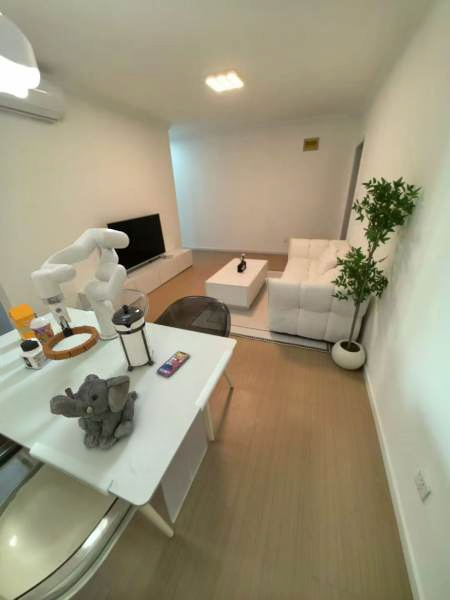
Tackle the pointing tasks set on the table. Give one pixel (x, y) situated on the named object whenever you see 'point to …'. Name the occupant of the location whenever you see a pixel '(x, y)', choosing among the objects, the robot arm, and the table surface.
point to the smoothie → (41, 329)
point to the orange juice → (23, 320)
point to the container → (33, 354)
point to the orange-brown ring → (73, 351)
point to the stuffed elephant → (100, 409)
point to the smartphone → (173, 363)
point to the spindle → (70, 393)
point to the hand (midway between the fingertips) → (68, 334)
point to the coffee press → (132, 336)
